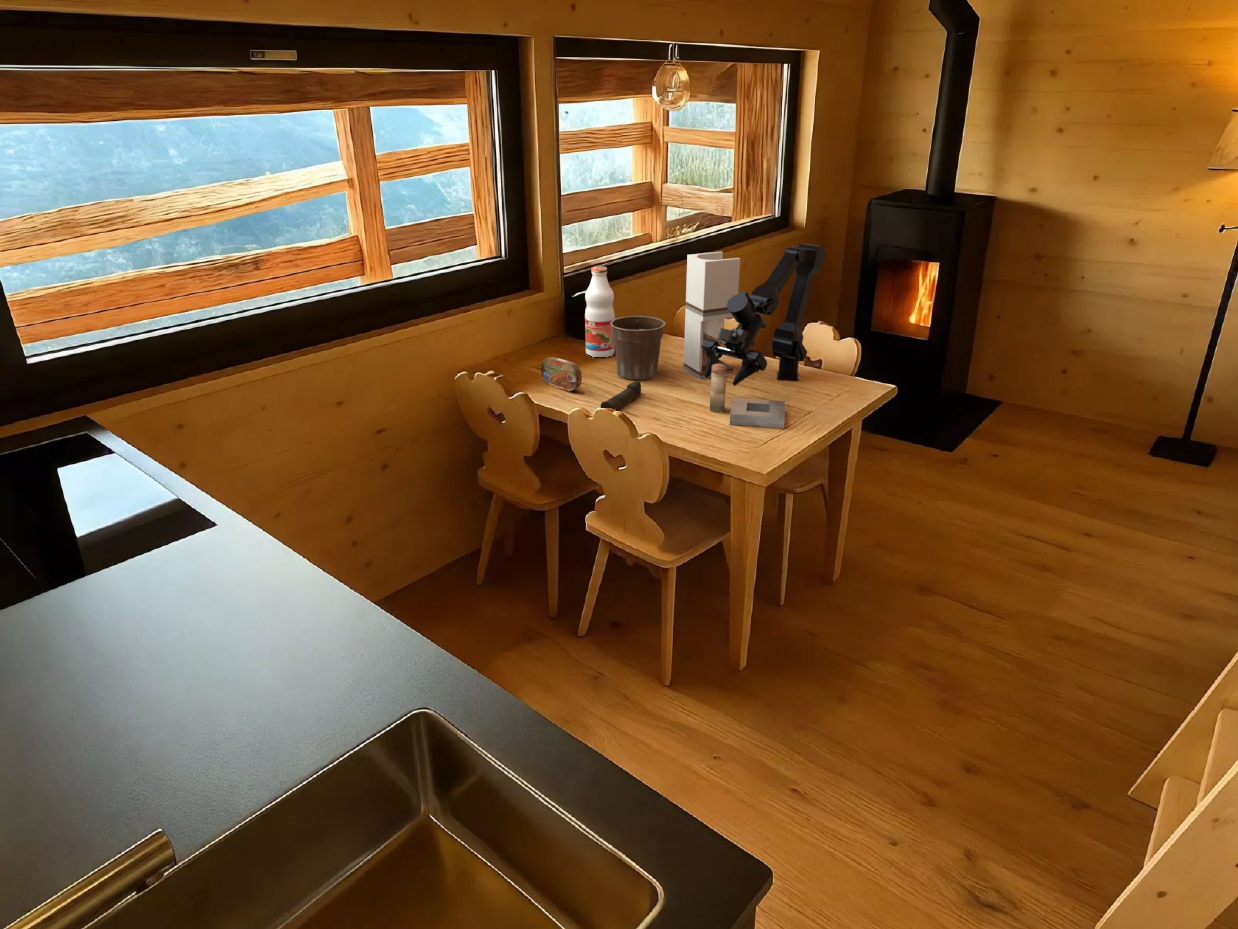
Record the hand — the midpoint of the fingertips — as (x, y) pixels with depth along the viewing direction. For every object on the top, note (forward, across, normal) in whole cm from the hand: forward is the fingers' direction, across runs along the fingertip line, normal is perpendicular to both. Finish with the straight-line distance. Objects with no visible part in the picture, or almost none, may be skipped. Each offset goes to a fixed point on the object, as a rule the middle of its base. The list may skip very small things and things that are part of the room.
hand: (719, 380), depth 227 cm
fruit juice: (-3, -57, +15) cm, 59 cm away
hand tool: (+16, -22, -4) cm, 28 cm away
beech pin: (+6, 0, +6) cm, 8 cm away
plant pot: (+1, -35, +11) cm, 37 cm away
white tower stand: (-10, -21, +22) cm, 32 cm away
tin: (+18, -44, -6) cm, 48 cm away
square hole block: (+4, +11, +7) cm, 14 cm away
